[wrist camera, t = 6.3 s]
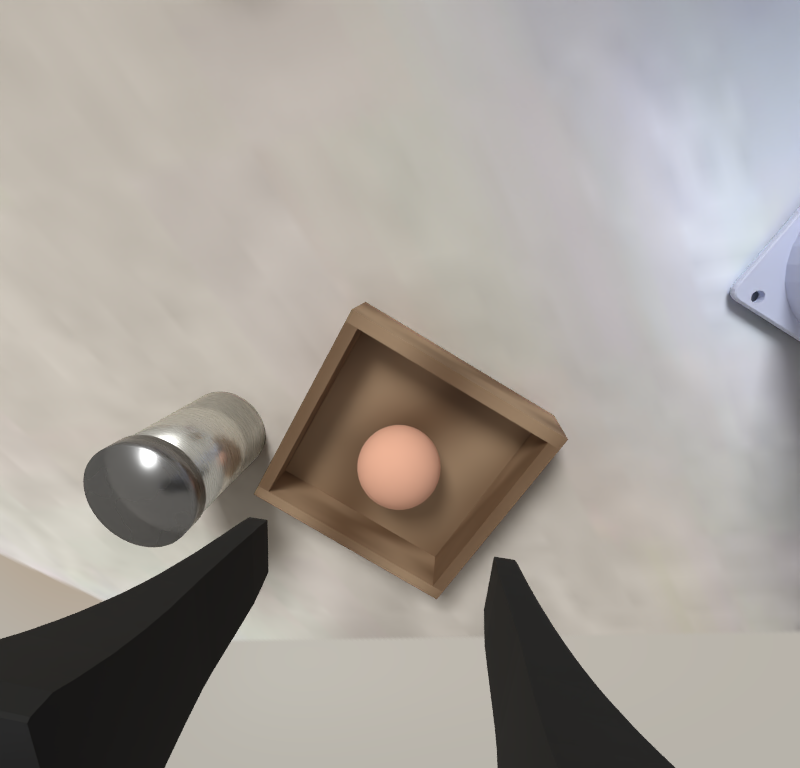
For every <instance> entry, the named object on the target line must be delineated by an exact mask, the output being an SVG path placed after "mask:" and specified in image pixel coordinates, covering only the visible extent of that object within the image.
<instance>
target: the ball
mask: <svg viewBox="0 0 800 768" xmlns="http://www.w3.org/2000/svg"><path fill="white" fill-rule="evenodd" d="M357 472H358V478H359V481H360V484H361V486H362V488H363V490H364V491H365V493H366V494H367V495H368V497H369V498H370V499H372V500H373V501H374V502H375V503H377V504H379V505H380V506H383V507H385V508H388V509H393V510H405V509H410V508H413V507H415V506H418V505H419V504H421V503H423V502H424V501H425V500H426V499H427V498H428V497H429V496H430V495H431V494H432V493H433V491H434V490H435V488H436V486H437V484H438V481H439V477H440V472H441V464H440V457H439V454H438V451H437V449H436V447H435V445H434V443H433V442H432V441H431V440H430V438H429V437H428V436H427V435H425V434H424V433H423V432H421V431H420V430H418V429H416V428H414V427H410V426H406V425H392V426H388V427H385V428H382V429H380V430H378V431H377V432H375V433H374V434H373V435H372V436H370V437H369V438H368V440H367V441H366V442H365V444H364V445H363V447H362V449H361V451H360V454H359V457H358V463H357Z"/></svg>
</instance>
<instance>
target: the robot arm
mask: <svg viewBox="0 0 800 768" xmlns="http://www.w3.org/2000/svg"><path fill="white" fill-rule="evenodd" d="M756 291H757V292H758V293H759V296H758V298H757V300H755V301H754V302H752V300H751V296H752V294H753V293H754V292H756ZM730 295H731V297H732V298H733V299H734V300H735V301H736V302H738V303H739V304H741V305H743V306H744V307H746V308H747V309H749V310H751V311H752V312H754V313H755V314H757V315H759V316H760V317H762V318H763V319H765V320H766V321H768V322H770V323H771V324H773V325H774V326H776V327H778V328H779V329H781V330H782V331H784V332H785V333H787V334H789V335H790V336H792V337H793V338H795V339H797V340H798V341H800V207H799V208H798V209H797V210H796V211H795V213H794V214H793V215H792V216H791V217H790V218H789V220H788V221H787V222H786V223H785V224H784V225H783V227H782V228H781V229H780V230H779V231H778V232H777V234H776V235H775V236H774V237H773V238H772V239H771V241H770V242H769V243H768V244H767V245H766V246H765V248H764V249H763V250H762V251H761V252H760V253H759V255H758V256H757V257H756V258H755V259H754V260H753V262H752V263H751V264H750V265H749V266H748V267H747V269H746V270H745V271H744V272H743V273H742V274H741V276H740V277H739V278H738V279H737V280H736V282H735V283H734V284H733V285H732V287H731V290H730ZM267 574H268V528H267V520H264V519H257V518H251V517H249V518H247V519H246V520H244V521H243V522H241V523H239V524H238V525H236V526H235V527H233V528H232V529H230V530H229V531H227V532H226V533H225V534H223V535H222V536H220V537H219V538H217V539H215V540H214V541H212V542H211V543H209V544H208V545H206V546H205V547H203V548H202V549H200V550H199V551H197V552H195V553H194V554H192V555H191V556H189V557H187V558H186V559H184V560H182V561H181V562H179V563H177V564H175V565H174V566H172V567H170V568H169V569H167V570H165V571H164V572H162V573H160V574H158V575H157V576H155V577H153V578H151V579H149V580H147V581H145V582H144V583H142V584H140V585H138V586H136V587H133V588H131V589H129V590H127V591H125V592H123V593H121V594H119V595H117V596H115V597H112V598H110V599H108V600H106V601H103V602H101V603H99V604H97V605H94V606H92V607H89V608H87V609H85V610H82V611H80V612H78V613H75V614H72V615H70V616H67V617H65V618H62V619H60V620H57V621H54V622H51V623H48V624H45V625H43V626H40V627H37V628H35V629H31V630H28V631H25V632H22V633H19V634H16V635H13V636H9V637H6V638H2V639H0V768H165V765H166V763H167V761H168V759H169V757H170V755H171V753H172V750H173V749H174V746H175V744H176V742H177V740H178V738H179V736H180V734H181V732H182V730H183V728H184V725H185V723H186V721H187V719H188V717H189V715H190V713H191V711H192V709H193V707H194V705H195V703H196V701H197V699H198V697H199V695H200V693H201V691H202V689H203V687H204V686H205V684H206V682H207V680H208V679H209V677H210V675H211V673H212V672H213V670H214V668H215V667H216V665H217V663H218V662H219V660H220V658H221V657H222V655H223V654H224V652H225V650H226V649H227V647H228V645H229V644H230V642H231V640H232V639H233V637H234V636H235V634H236V632H237V631H238V629H239V627H240V626H241V624H242V622H243V621H244V619H245V617H246V616H247V614H248V612H249V611H250V609H251V607H252V606H253V604H254V602H255V600H256V598H257V596H258V594H259V592H260V589H261V587H262V585H263V583H264V580H265V578H266V576H267ZM484 634H485V651H486V660H487V668H488V676H489V684H490V692H491V700H492V708H493V716H494V724H495V734H496V745H497V762H498V768H675V767H674V766H673V765H672V764H671V763H670V762H669V761H668V760H667V759H666V758H665V757H663V756H662V755H661V754H660V753H659V752H658V751H657V750H656V749H655V748H654V747H653V746H652V745H651V744H650V743H649V742H648V741H647V740H646V739H645V738H644V737H643V736H642V735H641V734H640V733H639V732H638V731H637V730H636V729H635V728H634V727H633V726H632V725H631V723H630V722H629V721H628V720H627V719H626V718H625V717H624V716H623V715H622V714H621V713H620V712H619V710H618V709H617V708H616V707H615V706H614V705H613V704H612V703H611V702H610V701H609V700H608V698H607V697H606V696H605V695H604V694H603V693H602V691H601V690H600V689H599V688H598V687H597V685H596V684H595V683H594V682H593V681H592V679H591V678H590V677H589V676H588V674H587V673H586V672H585V671H584V669H583V668H582V667H581V665H580V664H579V663H578V661H577V660H576V659H575V657H574V656H573V655H572V653H571V652H570V650H569V649H568V647H567V646H566V645H565V643H564V642H563V640H562V639H561V637H560V636H559V634H558V633H557V631H556V630H555V628H554V627H553V625H552V624H551V622H550V620H549V619H548V617H547V616H546V614H545V612H544V611H543V609H542V608H541V606H540V604H539V603H538V601H537V599H536V597H535V596H534V594H533V592H532V590H531V589H530V587H529V585H528V583H527V581H526V579H525V577H524V576H523V574H522V572H521V570H520V568H519V566H518V564H517V563H516V561H515V560H511V559H505V558H499V557H494V560H493V565H492V571H491V576H490V581H489V586H488V592H487V597H486V602H485V608H484Z"/></svg>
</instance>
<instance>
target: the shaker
mask: <svg viewBox="0 0 800 768" xmlns="http://www.w3.org/2000/svg"><path fill="white" fill-rule="evenodd" d="M264 443H265V429H264V425H263V422H262V420H261V418H260V416H259V414H258V413H257V411H256V410H255V409H254V408H253V407H252V405H251V404H249V403H248V402H247V401H246V400H244V399H243V398H241V397H239V396H237V395H234V394H231V393H227V392H213V393H209V394H206V395H204V396H202V397H201V398H199V399H197V400H195V401H193V402H192V403H190V404H188V405H186V406H185V407H183V408H181V409H179V410H177V411H176V412H174V413H172V414H170V415H168V416H167V417H165V418H163V419H161V420H160V421H158V422H156V423H154V424H152V425H151V426H149V427H147V428H145V429H143V430H142V431H140V432H138V433H136V434H135V435H133V436H128V437H125V438H123V439H121V440H119V441H117V442H115V443H113V444H112V445H110V446H108V447H106V448H104V449H103V450H101V451H99V452H98V453H96V454H95V455H94V456H93V457H92V458H91V460H90V461H89V463H88V464H87V467H86V469H85V473H84V481H83V482H84V491H85V495H86V498H87V501H88V503H89V506H90V508H91V509H92V511H93V513H94V514H95V515H96V517H97V518H98V519H99V521H100V522H101V523H102V524H103V525H104V526H105V527H106V528H107V529H108V530H110V531H111V532H112V533H114V534H115V535H117V536H118V537H120V538H122V539H124V540H126V541H128V542H130V543H133V544H136V545H139V546H145V547H162V546H166V545H169V544H172V543H174V542H175V541H177V540H178V539H180V538H181V537H182V536H183V535H184V534H185V533H186V532H187V531H188V530H189V529H190V528H191V527H192V526H193V525H194V524H195V523H196V521H197V520H198V519H199V518H200V516H201V515H202V513H203V511H204V510H205V509H206V508H207V507H208V506H209V505H210V504H211V503H212V502H213V501H214V500H215V499H216V498H217V497H218V496H219V495H220V494H221V493H222V492H223V491H224V490H225V489H226V488H227V487H228V486H229V485H230V484H231V483H232V482H233V481H234V480H235V479H236V478H237V477H238V476H239V475H240V474H241V473H242V472H243V471H244V470H245V469H246V468H247V467H248V466H249V465H250V464H251V463H252V462H253V461H254V460H255V459H256V458H257V456H258V455H259V454H260V452H261V451H262V449H263V446H264Z"/></svg>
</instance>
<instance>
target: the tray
mask: <svg viewBox="0 0 800 768" xmlns="http://www.w3.org/2000/svg"><path fill="white" fill-rule="evenodd" d="M392 425H406V426H410V427H414V428H416V429H418V430H420V431H421V432H423V433H424V434H425V435H427V436H428V437H429V438H430V440H431V441H432V442H433V443H434V445H435V447H436V449H437V451H438V454H439V457H440V464H441V472H440V477H439V481H438V484H437V486H436V488H435V490H434V491H433V493H432V494H431V495H430V496H429V497H428V498H427V499H426V500H425V501H424V502H423V503H421V504H419V505H418V506H415V507H413V508H410V509H405V510H393V509H388V508H385V507H383V506H380V505H379V504H377V503H375V502H374V501H373V500H372V499H370V498H369V497H368V495H367V494H366V493H365V491H364V490H363V488H362V486H361V484H360V481H359V478H358V472H357V463H358V457H359V454H360V451H361V449H362V447H363V445H364V444H365V442H366V441H367V440H368V438H369V437H370V436H372V435H373V434H374V433H375V432H377V431H378V430H380V429H382V428H385V427H388V426H392ZM567 440H568V439H567V437H566V435H565V433H564V432H563V430H562V428H561V427H560V425H559V423H558V422H557V420H556V418H555V416H554V415H552V414H550V413H549V412H547V411H545V410H544V409H542V408H540V407H539V406H537V405H535V404H534V403H532V402H530V401H529V400H527V399H525V398H524V397H522V396H520V395H519V394H517V393H515V392H514V391H512V390H511V389H509V388H507V387H506V386H504V385H502V384H501V383H499V382H497V381H496V380H494V379H492V378H491V377H489V376H487V375H486V374H484V373H482V372H481V371H479V370H477V369H476V368H474V367H472V366H471V365H469V364H467V363H466V362H464V361H462V360H461V359H459V358H458V357H456V356H454V355H453V354H451V353H449V352H448V351H446V350H444V349H443V348H441V347H439V346H438V345H436V344H434V343H433V342H431V341H429V340H428V339H426V338H424V337H423V336H421V335H419V334H418V333H416V332H414V331H413V330H411V329H409V328H408V327H406V326H404V325H403V324H401V323H400V322H398V321H396V320H395V319H393V318H391V317H390V316H388V315H386V314H385V313H383V312H381V311H380V310H378V309H376V308H375V307H373V306H371V305H370V304H368V303H366V302H365V303H363V304H361V305H359V306H357V307H355V308H354V309H352V310H351V312H350V314H349V316H348V318H347V320H346V322H345V323H344V325H343V327H342V329H341V331H340V333H339V335H338V337H337V338H336V340H335V342H334V344H333V346H332V348H331V350H330V352H329V354H328V355H327V357H326V359H325V361H324V363H323V365H322V367H321V369H320V370H319V372H318V374H317V376H316V378H315V380H314V382H313V384H312V386H311V387H310V389H309V391H308V393H307V395H306V397H305V399H304V401H303V402H302V404H301V406H300V408H299V410H298V412H297V414H296V416H295V418H294V419H293V421H292V423H291V425H290V427H289V429H288V431H287V433H286V434H285V436H284V438H283V440H282V442H281V444H280V446H279V448H278V450H277V451H276V453H275V455H274V457H273V459H272V461H271V463H270V465H269V466H268V468H267V470H266V472H265V474H264V476H263V478H262V480H261V482H260V483H259V485H258V487H257V489H256V491H255V493H254V495H256V496H258V497H259V498H261V499H263V500H265V501H266V502H268V503H270V504H272V505H273V506H275V507H277V508H279V509H280V510H282V511H284V512H286V513H287V514H289V515H291V516H293V517H294V518H296V519H298V520H299V521H301V522H303V523H305V524H306V525H308V526H310V527H312V528H313V529H315V530H317V531H319V532H320V533H322V534H324V535H326V536H327V537H329V538H331V539H333V540H334V541H336V542H338V543H340V544H341V545H343V546H345V547H347V548H348V549H350V550H352V551H353V552H355V553H357V554H359V555H360V556H362V557H364V558H366V559H367V560H369V561H371V562H373V563H374V564H376V565H378V566H380V567H381V568H383V569H385V570H387V571H388V572H390V573H392V574H394V575H395V576H397V577H399V578H400V579H402V580H404V581H406V582H407V583H409V584H411V585H413V586H414V587H416V588H418V589H420V590H421V591H423V592H425V593H427V594H428V595H430V596H432V597H434V598H435V599H437V598H438V597H439V596H440V595H441V593H442V592H443V591H444V590H445V588H446V587H447V586H448V585H449V584H450V582H451V581H452V580H453V579H454V577H455V576H456V575H457V574H458V573H459V571H460V570H461V569H462V568H463V567H464V565H465V564H466V563H467V562H468V560H469V559H470V558H471V557H472V556H473V554H474V553H475V552H476V551H477V549H478V548H479V547H480V546H481V545H482V543H483V542H484V541H485V540H486V539H487V537H488V536H489V535H490V534H491V532H492V531H493V530H494V529H495V528H496V526H497V525H498V524H499V523H500V522H501V520H502V519H503V518H504V517H505V515H506V514H507V513H508V512H509V511H510V509H511V508H512V507H513V506H514V504H515V503H516V502H517V501H518V500H519V498H520V497H521V496H522V495H523V494H524V492H525V491H526V490H527V489H528V487H529V486H530V485H531V484H532V483H533V481H534V480H535V479H536V478H537V476H538V475H539V474H540V473H541V472H542V470H543V469H544V468H545V467H546V466H547V464H548V463H549V462H550V461H551V459H552V458H553V457H554V456H555V455H556V453H557V452H558V451H559V450H560V449H561V447H562V446H563V445H564V444H565V442H566V441H567Z"/></svg>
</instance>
